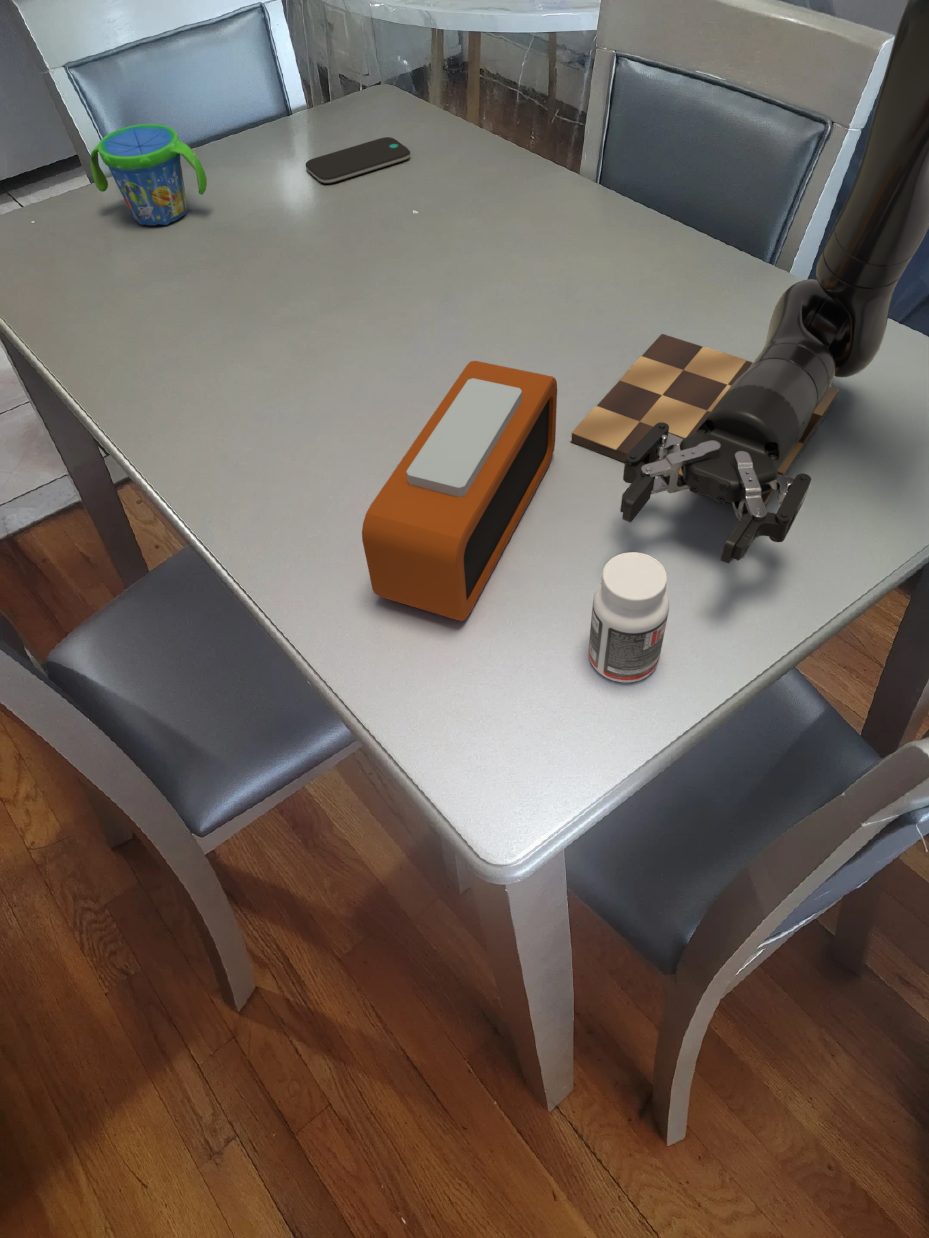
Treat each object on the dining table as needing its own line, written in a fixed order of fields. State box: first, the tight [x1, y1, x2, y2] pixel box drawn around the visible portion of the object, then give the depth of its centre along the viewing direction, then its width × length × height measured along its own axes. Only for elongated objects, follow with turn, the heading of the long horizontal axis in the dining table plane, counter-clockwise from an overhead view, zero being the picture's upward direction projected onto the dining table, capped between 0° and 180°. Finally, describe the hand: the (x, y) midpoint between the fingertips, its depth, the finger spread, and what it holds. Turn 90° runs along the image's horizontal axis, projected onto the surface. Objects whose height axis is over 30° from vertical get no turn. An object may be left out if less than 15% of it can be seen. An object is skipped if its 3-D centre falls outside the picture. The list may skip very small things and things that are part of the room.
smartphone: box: [305, 136, 411, 185], centre depth 129 cm, size 8×1×15 cm
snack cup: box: [89, 123, 208, 226], centre depth 118 cm, size 16×10×10 cm
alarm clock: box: [361, 360, 558, 622], centre depth 76 cm, size 24×8×11 cm, turn 157°
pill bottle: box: [588, 551, 670, 683], centre depth 67 cm, size 6×6×10 cm
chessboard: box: [570, 333, 840, 507], centre depth 88 cm, size 20×20×1 cm
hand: (675, 534), depth 68 cm, fingers open, 8 cm apart
